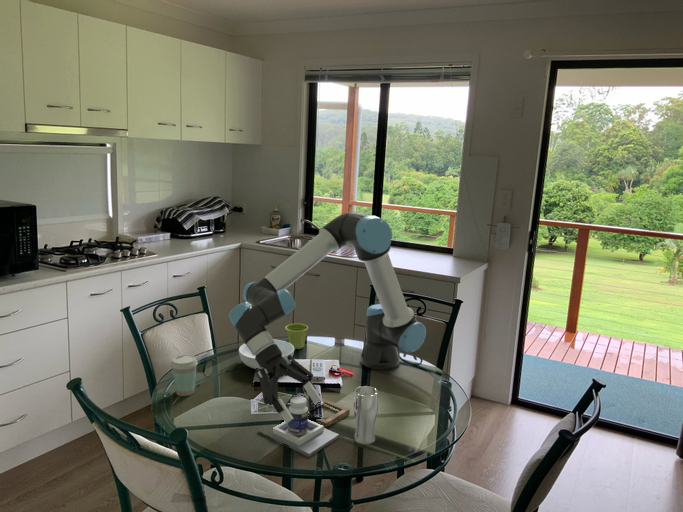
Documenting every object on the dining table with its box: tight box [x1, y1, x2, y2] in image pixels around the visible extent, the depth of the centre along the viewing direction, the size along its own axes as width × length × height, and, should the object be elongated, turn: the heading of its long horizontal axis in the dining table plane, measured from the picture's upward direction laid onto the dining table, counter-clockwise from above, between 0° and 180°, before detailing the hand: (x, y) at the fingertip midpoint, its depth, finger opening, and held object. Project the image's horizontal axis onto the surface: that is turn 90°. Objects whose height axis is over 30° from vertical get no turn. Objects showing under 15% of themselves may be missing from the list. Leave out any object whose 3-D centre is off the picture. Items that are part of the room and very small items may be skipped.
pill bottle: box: [288, 396, 308, 436], centre depth 157 cm, size 6×6×10 cm
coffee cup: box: [170, 354, 199, 397], centre depth 181 cm, size 9×8×12 cm
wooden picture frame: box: [308, 397, 350, 428], centre depth 170 cm, size 12×12×2 cm
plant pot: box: [284, 323, 309, 350], centre depth 224 cm, size 9×9×9 cm
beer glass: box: [353, 385, 379, 446], centre depth 155 cm, size 7×7×15 cm
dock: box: [272, 419, 340, 458], centre depth 158 cm, size 13×20×2 cm, turn 52°
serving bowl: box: [238, 338, 295, 370], centre depth 205 cm, size 21×21×7 cm
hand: (304, 411), depth 155 cm, fingers open, 13 cm apart
